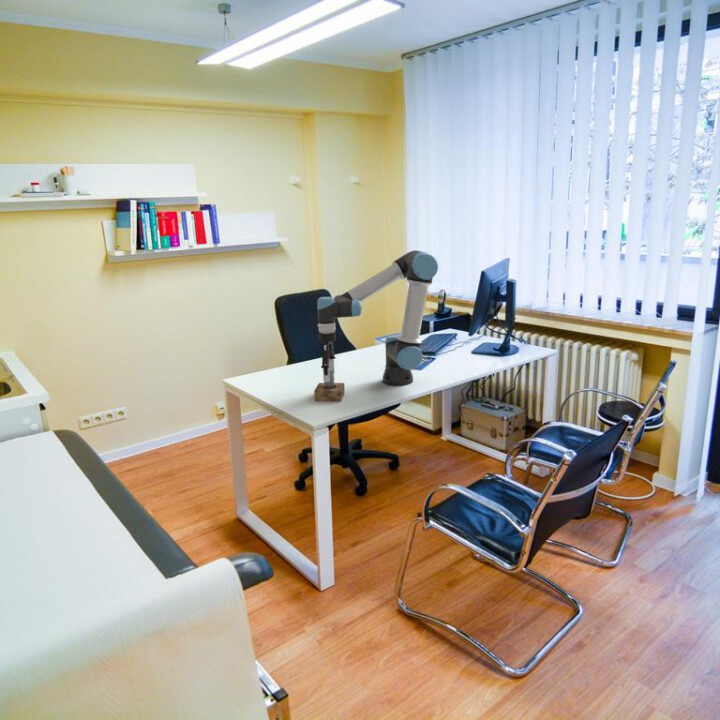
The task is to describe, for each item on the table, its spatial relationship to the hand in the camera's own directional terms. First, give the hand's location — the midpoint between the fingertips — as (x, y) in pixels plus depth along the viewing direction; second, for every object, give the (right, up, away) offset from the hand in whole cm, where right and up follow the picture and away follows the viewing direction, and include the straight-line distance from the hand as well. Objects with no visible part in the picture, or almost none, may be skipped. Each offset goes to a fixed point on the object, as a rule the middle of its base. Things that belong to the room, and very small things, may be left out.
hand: (329, 377), depth 267 cm
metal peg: (0, -9, +3) cm, 9 cm away
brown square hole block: (0, -9, +2) cm, 9 cm away
